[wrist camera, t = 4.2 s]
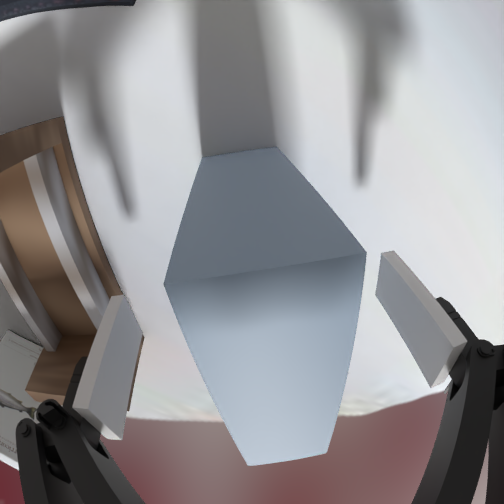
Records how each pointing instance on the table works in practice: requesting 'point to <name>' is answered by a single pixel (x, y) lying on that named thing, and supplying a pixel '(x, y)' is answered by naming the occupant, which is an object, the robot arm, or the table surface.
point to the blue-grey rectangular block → (267, 301)
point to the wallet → (51, 6)
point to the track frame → (51, 254)
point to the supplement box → (15, 391)
